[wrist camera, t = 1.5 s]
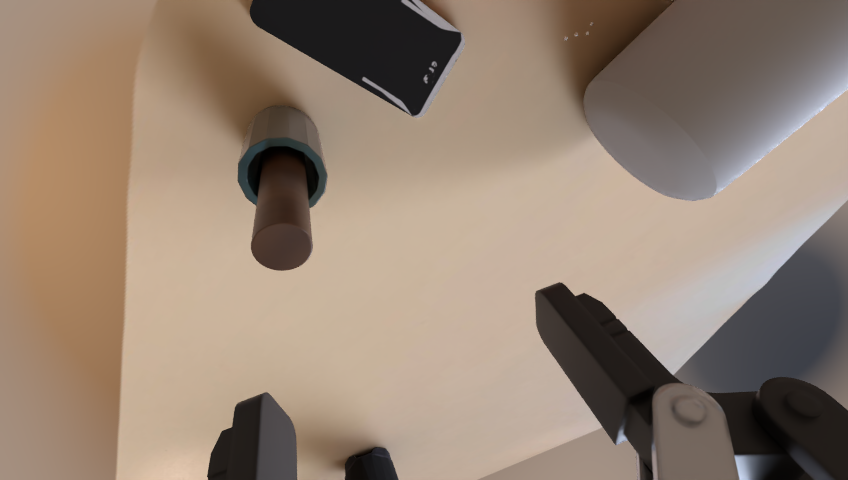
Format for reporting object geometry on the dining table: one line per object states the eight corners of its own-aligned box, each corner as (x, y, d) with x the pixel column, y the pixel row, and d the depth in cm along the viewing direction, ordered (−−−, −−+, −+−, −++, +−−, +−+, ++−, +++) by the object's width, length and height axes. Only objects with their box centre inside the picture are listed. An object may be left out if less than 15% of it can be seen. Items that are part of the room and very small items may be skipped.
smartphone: (289, -100, 24) (469, 38, 31) (289, -97, 25) (463, 36, 32) (245, 19, 27) (420, 121, 34) (247, 18, 28) (417, 116, 35)
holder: (234, 147, 32) (220, 189, 26) (271, 89, 30) (267, 119, 24) (296, 183, 35) (297, 228, 29) (333, 132, 34) (343, 168, 27)
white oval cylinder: (561, 11, 29) (942, -257, 23) (544, 77, 43) (776, -78, 37) (696, 226, 28) (1129, 4, 22) (633, 220, 42) (885, 85, 36)
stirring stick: (258, 146, 32) (239, 256, 19) (277, 117, 31) (271, 213, 19) (291, 165, 34) (292, 279, 21) (310, 138, 33) (323, 239, 20)
